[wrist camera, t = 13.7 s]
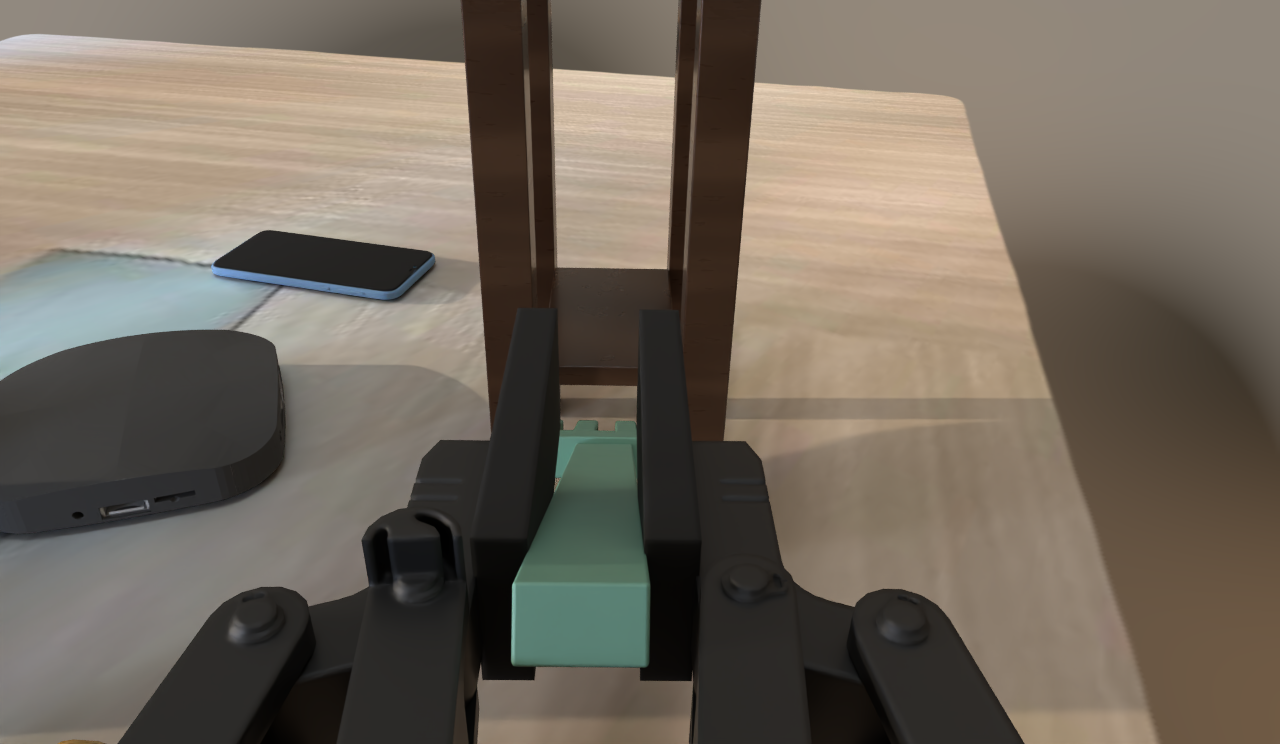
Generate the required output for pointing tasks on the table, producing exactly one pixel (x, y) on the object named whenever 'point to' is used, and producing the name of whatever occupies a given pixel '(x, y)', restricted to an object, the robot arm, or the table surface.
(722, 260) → the plant stand
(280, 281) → the smartphone
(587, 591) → the fork
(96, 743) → the croissant
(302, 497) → the table surface
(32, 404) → the media streaming box
